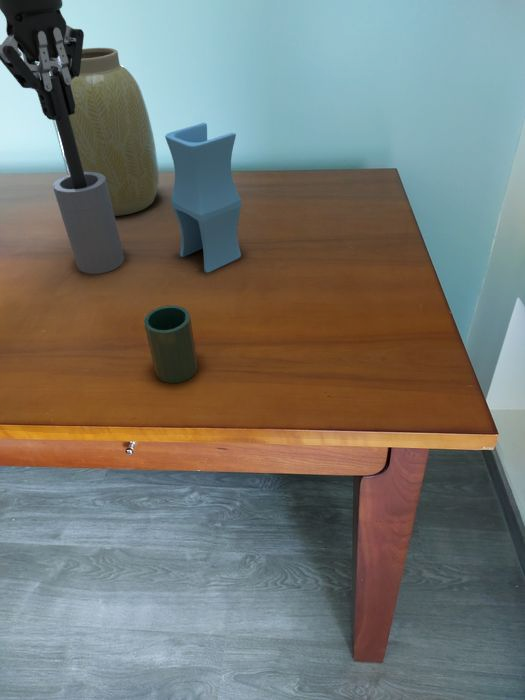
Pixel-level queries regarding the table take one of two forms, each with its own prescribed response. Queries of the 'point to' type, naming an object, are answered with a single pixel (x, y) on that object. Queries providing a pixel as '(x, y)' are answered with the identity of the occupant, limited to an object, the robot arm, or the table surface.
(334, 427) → the table surface
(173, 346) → the holder
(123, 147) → the vase
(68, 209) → the cup
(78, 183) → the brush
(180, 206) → the blue bent piece
